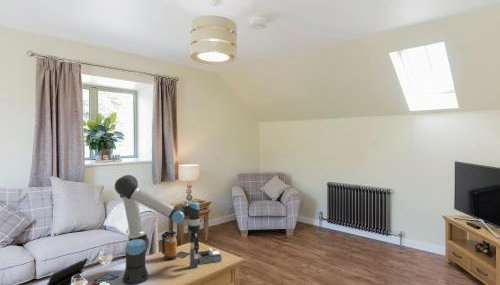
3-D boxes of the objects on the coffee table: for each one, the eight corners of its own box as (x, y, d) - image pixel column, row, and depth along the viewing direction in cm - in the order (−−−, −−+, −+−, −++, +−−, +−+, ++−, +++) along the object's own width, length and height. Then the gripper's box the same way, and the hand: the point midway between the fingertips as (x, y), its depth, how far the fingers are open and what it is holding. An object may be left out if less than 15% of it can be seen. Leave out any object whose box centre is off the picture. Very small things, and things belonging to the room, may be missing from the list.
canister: (177, 259, 226) (177, 232, 226) (161, 261, 223) (161, 233, 223) (176, 255, 235) (176, 229, 235) (161, 256, 232) (161, 230, 231)
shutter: (210, 255, 224) (211, 251, 224) (208, 252, 230) (208, 248, 230) (220, 254, 226) (220, 250, 226) (217, 251, 233) (217, 247, 233)
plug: (190, 268, 211) (191, 247, 211) (189, 266, 215) (190, 245, 215) (197, 267, 213) (197, 246, 213) (196, 265, 216) (196, 245, 216)
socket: (199, 264, 218) (199, 257, 218) (196, 258, 229) (196, 251, 229) (221, 261, 224) (221, 254, 224) (217, 255, 235) (217, 249, 235)
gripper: (203, 228, 203) (203, 260, 204) (195, 219, 227) (195, 248, 227) (192, 230, 201) (192, 262, 201) (185, 220, 224) (185, 250, 224)
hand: (194, 255), depth 214 cm, fingers open, 13 cm apart
